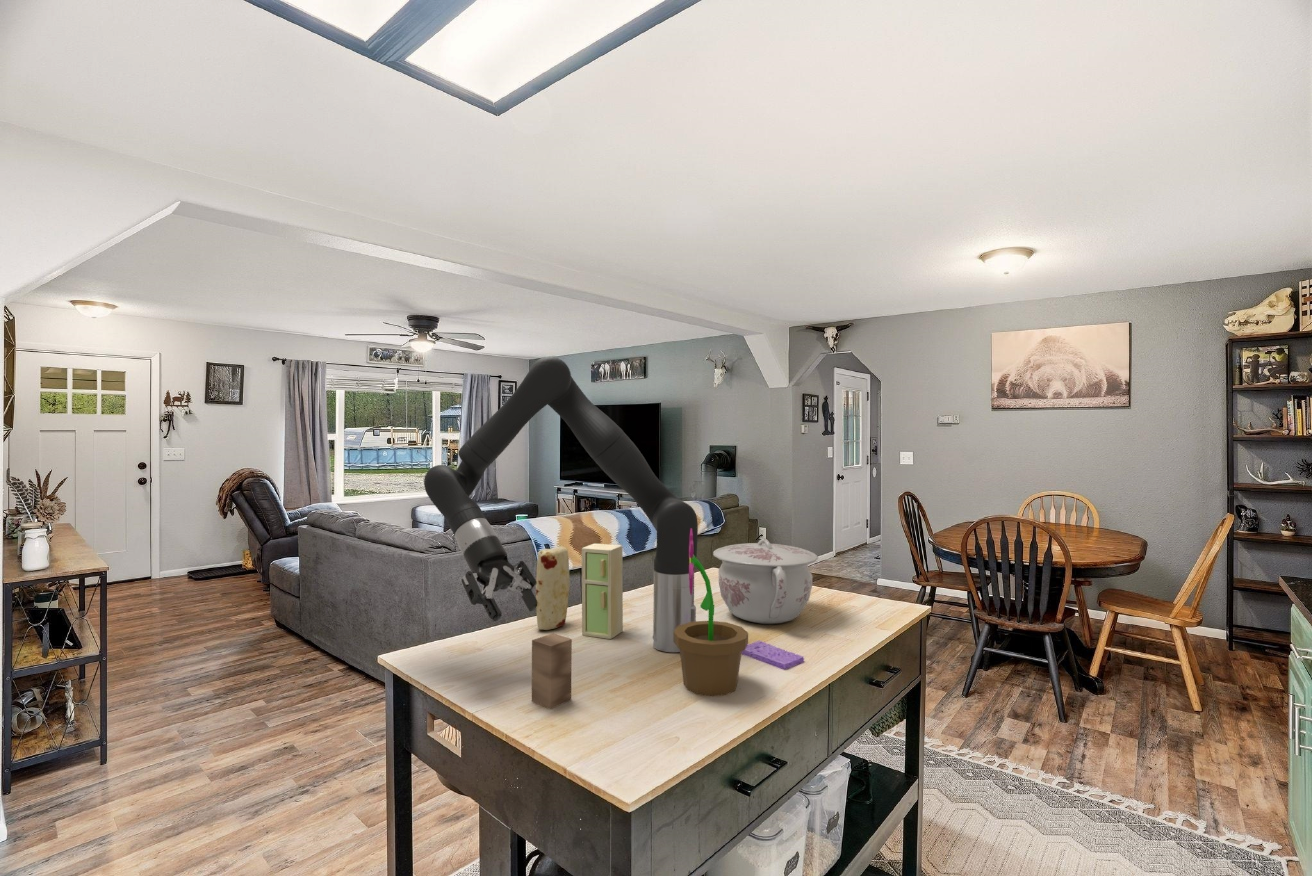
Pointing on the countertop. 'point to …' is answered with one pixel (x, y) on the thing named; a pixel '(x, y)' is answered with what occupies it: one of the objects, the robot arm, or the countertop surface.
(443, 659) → the countertop surface
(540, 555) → the food model
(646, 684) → the countertop surface
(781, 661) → the sponges
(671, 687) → the countertop surface
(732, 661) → the flowerpot
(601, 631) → the toy refrigerator
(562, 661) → the walnut block
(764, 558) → the chamber pot
